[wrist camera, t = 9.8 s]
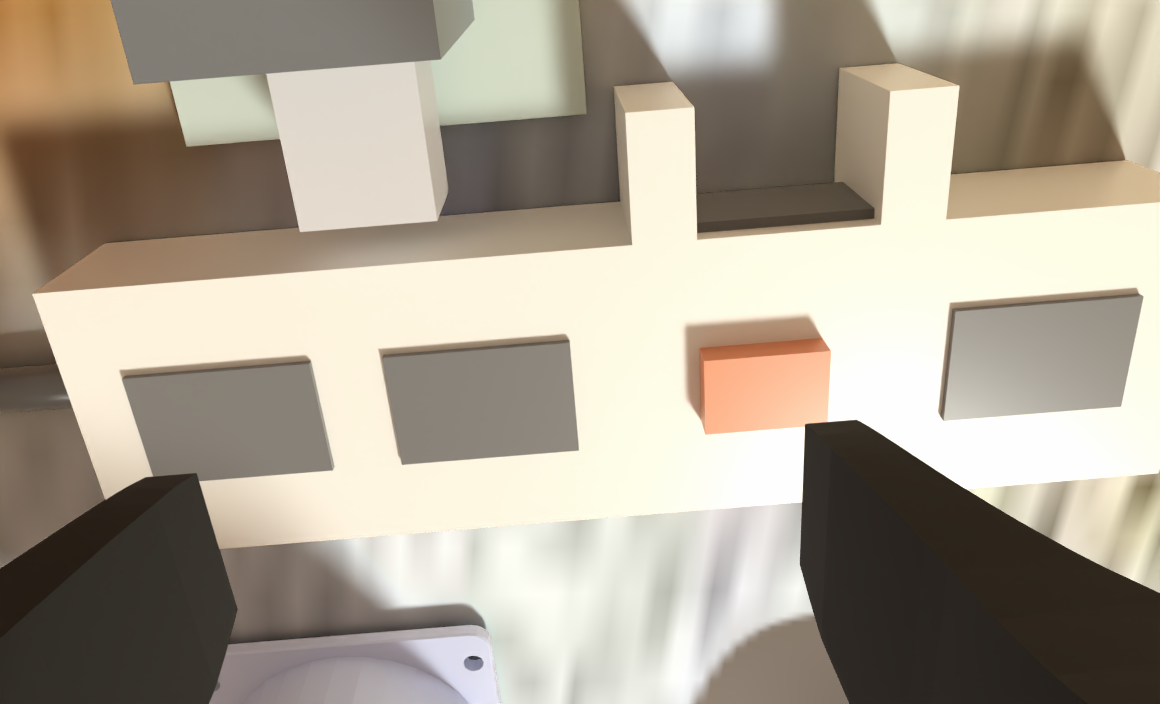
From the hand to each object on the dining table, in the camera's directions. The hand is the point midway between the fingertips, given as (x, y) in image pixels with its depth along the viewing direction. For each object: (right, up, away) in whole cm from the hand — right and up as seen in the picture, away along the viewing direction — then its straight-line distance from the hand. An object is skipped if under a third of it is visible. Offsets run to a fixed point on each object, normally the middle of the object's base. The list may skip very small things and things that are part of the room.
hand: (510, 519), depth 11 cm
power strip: (-1, +3, +9) cm, 10 cm away
